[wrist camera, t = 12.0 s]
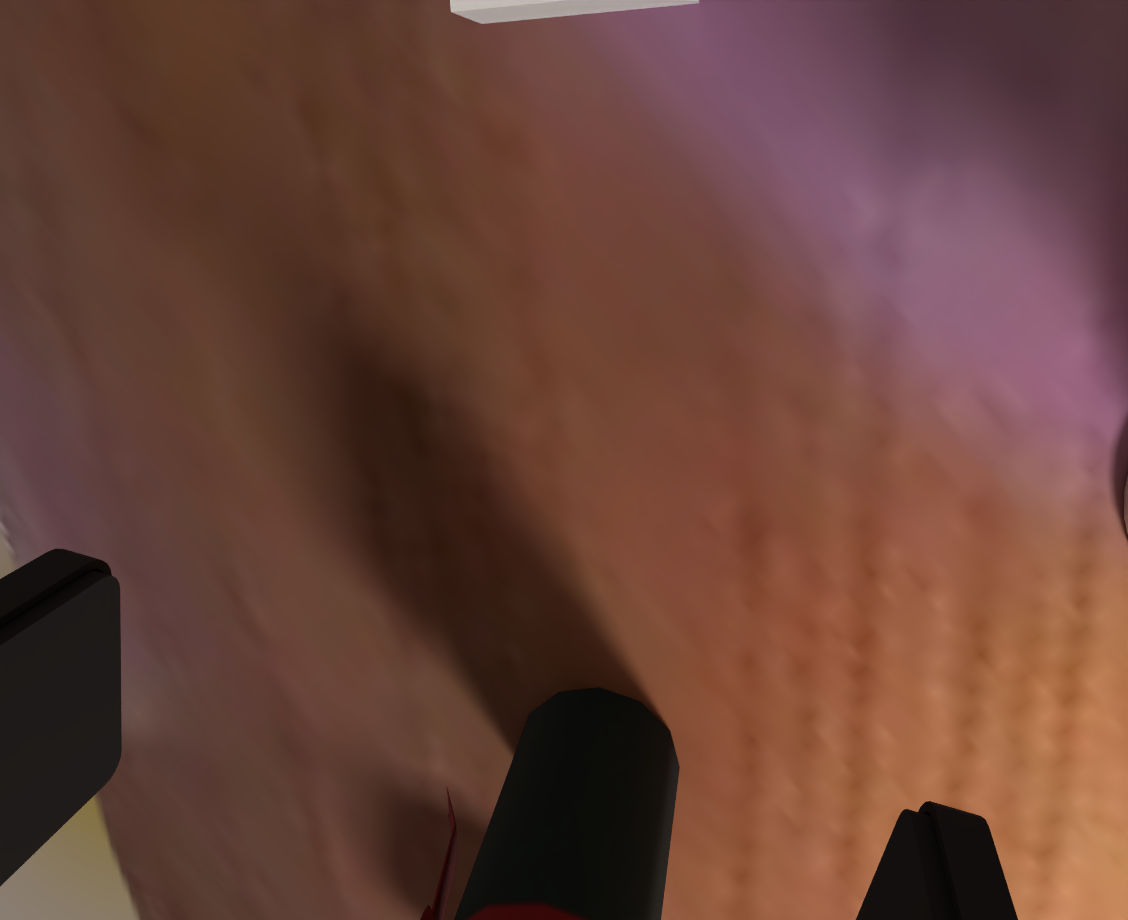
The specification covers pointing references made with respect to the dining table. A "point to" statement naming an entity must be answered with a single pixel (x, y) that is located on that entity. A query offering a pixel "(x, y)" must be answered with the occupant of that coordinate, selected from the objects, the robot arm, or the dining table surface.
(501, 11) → the base block
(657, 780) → the wine bottle
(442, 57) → the dining table surface
